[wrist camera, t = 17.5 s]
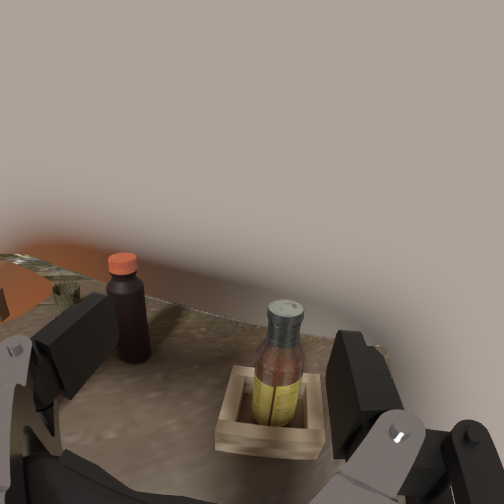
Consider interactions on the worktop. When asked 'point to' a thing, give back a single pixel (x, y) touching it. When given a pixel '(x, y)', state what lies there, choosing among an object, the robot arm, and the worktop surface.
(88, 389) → the worktop surface
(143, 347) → the vinegar
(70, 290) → the cup
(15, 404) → the robot arm
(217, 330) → the worktop surface
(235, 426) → the socket block
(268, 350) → the sauce bottle
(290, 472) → the worktop surface
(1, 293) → the wooden block
